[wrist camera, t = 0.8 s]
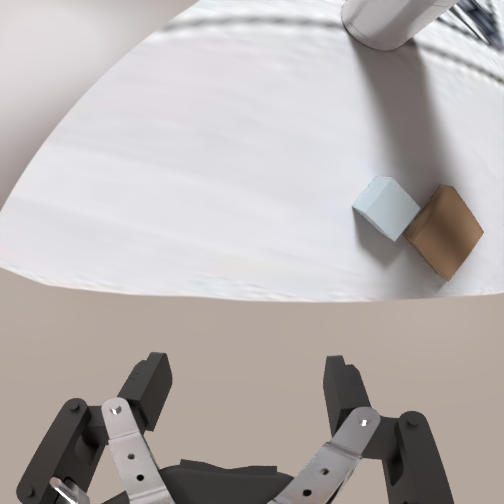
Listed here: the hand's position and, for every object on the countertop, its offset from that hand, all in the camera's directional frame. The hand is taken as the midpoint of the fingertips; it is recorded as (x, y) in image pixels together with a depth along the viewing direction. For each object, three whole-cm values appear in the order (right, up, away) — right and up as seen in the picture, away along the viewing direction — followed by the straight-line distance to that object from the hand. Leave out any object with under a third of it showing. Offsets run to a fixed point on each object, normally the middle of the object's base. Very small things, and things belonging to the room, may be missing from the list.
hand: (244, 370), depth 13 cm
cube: (+16, +12, +19) cm, 28 cm away
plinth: (+26, +9, +20) cm, 34 cm away
